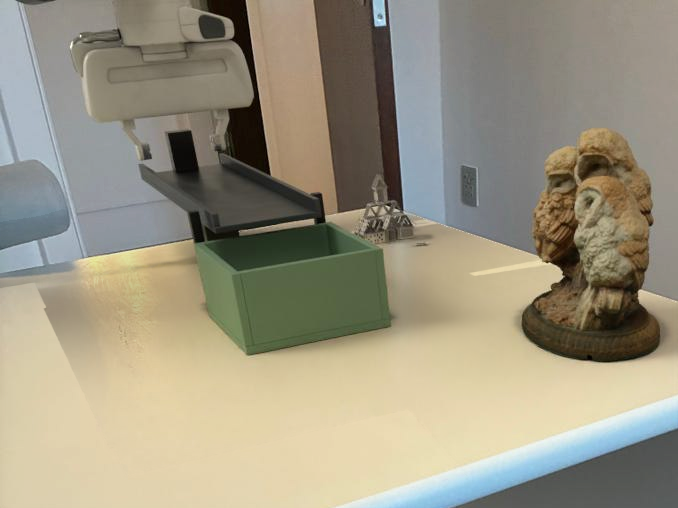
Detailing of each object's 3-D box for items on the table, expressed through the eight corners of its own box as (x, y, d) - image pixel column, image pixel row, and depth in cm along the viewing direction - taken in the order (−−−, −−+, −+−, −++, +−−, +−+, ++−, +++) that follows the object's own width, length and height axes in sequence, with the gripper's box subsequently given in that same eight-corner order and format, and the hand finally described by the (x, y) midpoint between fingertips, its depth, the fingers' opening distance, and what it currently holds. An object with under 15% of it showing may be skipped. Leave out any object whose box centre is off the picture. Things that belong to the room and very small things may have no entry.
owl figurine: (493, 315, 95) (485, 123, 85) (599, 298, 98) (603, 110, 88) (570, 371, 81) (572, 149, 71) (691, 349, 84) (708, 133, 75)
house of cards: (365, 255, 118) (357, 188, 113) (341, 242, 124) (332, 177, 120) (431, 244, 121) (426, 178, 116) (404, 231, 127) (399, 168, 123)
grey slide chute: (215, 233, 94) (204, 177, 91) (141, 179, 122) (131, 134, 119) (321, 217, 97) (314, 162, 94) (226, 168, 126) (217, 124, 123)
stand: (210, 314, 101) (189, 212, 95) (168, 271, 116) (147, 182, 110) (335, 291, 105) (322, 193, 100) (279, 253, 121) (264, 166, 115)
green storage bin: (247, 355, 89) (231, 274, 85) (209, 316, 100) (193, 243, 96) (391, 326, 94) (382, 248, 90) (340, 292, 105) (330, 221, 101)
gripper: (68, 34, 108) (103, 168, 116) (245, 20, 115) (266, 148, 123) (61, 32, 112) (95, 162, 120) (231, 19, 119) (252, 142, 127)
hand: (182, 154), depth 121 cm, fingers open, 8 cm apart
